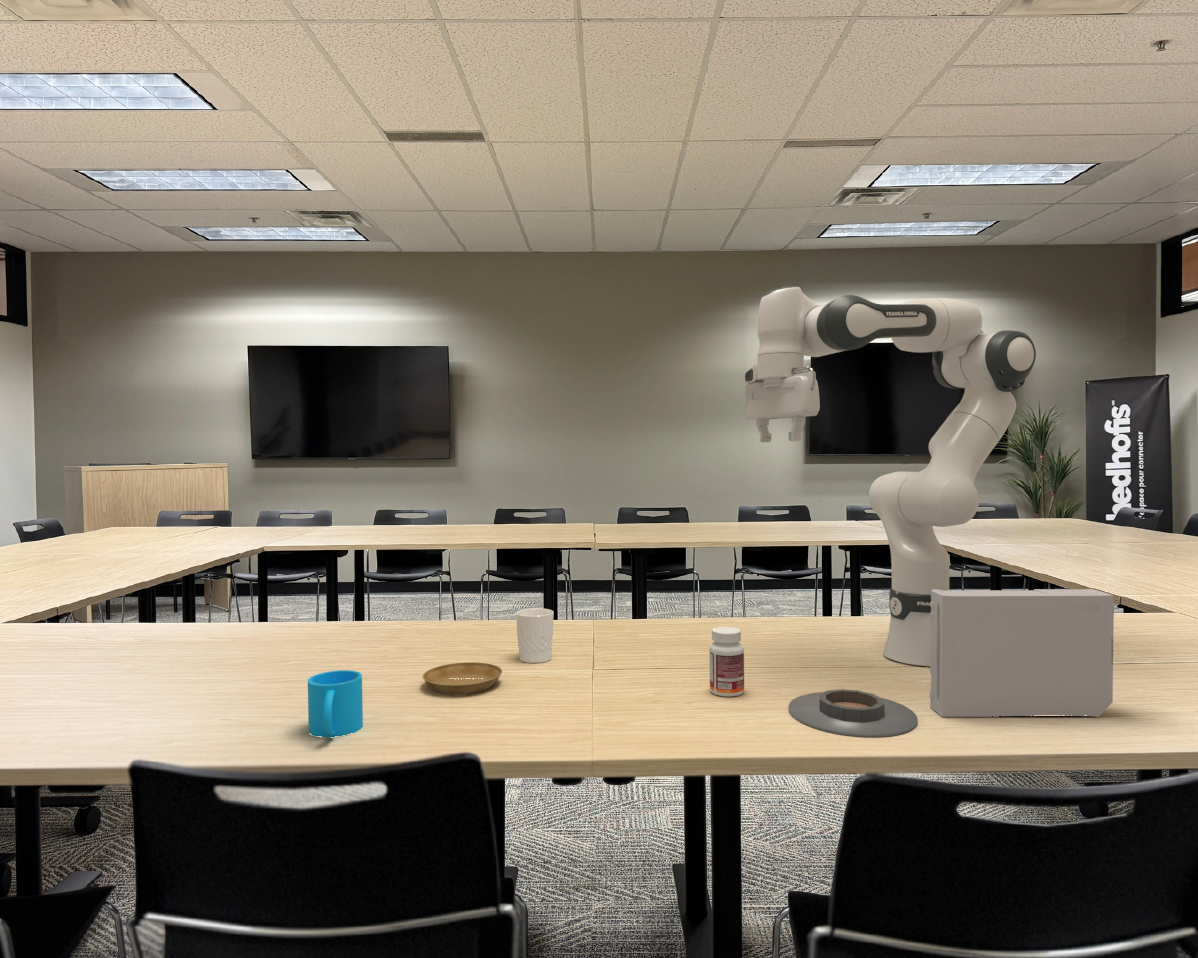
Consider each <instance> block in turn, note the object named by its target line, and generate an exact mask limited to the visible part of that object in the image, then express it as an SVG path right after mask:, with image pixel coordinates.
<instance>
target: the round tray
mask: <svg viewBox="0 0 1198 958" xmlns="http://www.w3.org/2000/svg"><path fill="white" fill-rule="evenodd" d="M788 713H789V714H790V716H791V717H792V718H793V719H794V720H795V721H797V722H799V723H801V724H802V725H805V726H806V727H809V728H812V729H815V730H818V731H822V732H825V733H829V734H835V735H841V736H846V737H856V738H858V737H859V738H886V737H888V738H889V737H896V736H899V735H903V734H907V733H909V732H911V731H913V730H914V729H916V727H917V725H918V716H917V715H916V713H915V712H914V711H913V710H912V709H910V708H909V707H907V706H906V705H903V704H901V703H899V702H896V701H894V700H891V699H887V698H884V697H880V696H878V695H876V694H874V693H871V692H866V691H862V690H857V689H856V690H855V689H843V688H841V689H840V688H839V689H829V690H825V691H821V692H819V691H818V692H813V693H806V694H803V695H799V696H796V697H795V698H793V699H792V700H790V702H789V703H788Z"/></svg>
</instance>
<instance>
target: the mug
mask: <svg viewBox="0 0 1198 958" xmlns="http://www.w3.org/2000/svg"><path fill="white" fill-rule="evenodd" d="M363 704H364V703H363V674H362V673H361V672H360V671H356V670H346V669H343V670H330V671H323V672H320V673H317V674H314V675H312V676H310V677H309V678H307V708H308V709H307V710H308V711H307V713H308V721H307V722H308V734H309V733H311V734H312V735H314V736H322V737H335V736H342V735H346V736H348V735H347V734H350V733H353V734H355V733H358V732H359V731H361V729H362V728H363V727H364V716H363V715H364V713H363V710H364V707H363ZM350 735H351V734H350ZM314 736H313V737H314ZM342 737H343V736H342Z"/></svg>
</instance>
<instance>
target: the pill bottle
mask: <svg viewBox="0 0 1198 958" xmlns="http://www.w3.org/2000/svg"><path fill="white" fill-rule="evenodd" d="M741 633H742V632H741V629H740V628H737V627H731V626H717V627H714V628H712V629H711V640H712V641H713V642H712V643H711V644H710V645H709V690H710V692H711V693H712V694H714V695H716V696H719V697H724V698H725V697H736V696H737V697H738V696H741V695H743V694H744V692H745V648H744V646H743V644H742V643H740V642H741V640H742V634H741Z"/></svg>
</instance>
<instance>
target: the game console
mask: <svg viewBox="0 0 1198 958" xmlns="http://www.w3.org/2000/svg"><path fill="white" fill-rule="evenodd" d="M930 606H931V613H930V616H931V663H930V666H929V667H930V674H931V679H930V692H929V700H930V701H929V702H930V703H929V705H930V706H929V707H930V709H932V710H933V711H934V712H935V711H936V712H937V714H938V715H939V716H940V717H942V718H947V717H949V718H951V717H953V718H965V717H967V718H972V717H973V718H974V717H975V718H983V717H984V718H990V717H991V718H1000V717H999V716H1003V717H1002V718H1005V717H1004V716H1031V715H1032V716H1034V715H1060V716H1061V715H1065V716H1067V715H1068V716H1071V715H1072V716H1084V715H1087V716H1099V717H1100V716H1101V715H1102V714H1103V713H1105V711H1107V709H1108V708H1109V707H1110V706H1111V705H1112V704H1113V700H1114V699H1113V696H1114V695H1113V693H1114V692H1113V691H1114V688H1113V687H1114V685H1113V684H1114V682H1113V681H1114V629H1115V627H1114V626H1115V625H1114V624H1115V623H1114V618H1115V617H1114V616H1115V615H1114V613H1115V609H1114V608H1115V595H1114V594H1110V593H1108V592H1105V591H1101V590H1097V589H1092V588H1086V589H1085V588H1084V589H1080V588H1079V589H1076V588H1075V589H1072V588H1069V589H1066V588H1064V589H1061V588H1058V589H1057V588H1055V589H1053V588H1052V589H1051V588H1050V589H1048V588H1046V589H1045V588H1043V589H1040V588H1038V589H1037V588H1036V589H1035V588H1034V589H1033V590H1032V589H1031V590H1027V589H1026V590H1024V589H1022V590H1020V589H1019V590H1013V589H1011V590H1007V589H1006V590H1003V589H1002V590H999V589H998V590H997V589H995V590H993V589H992V590H988V589H987V590H949V591H942V590H940V589H934V590H931V604H930ZM936 712H935V713H936ZM992 716H993V717H992Z"/></svg>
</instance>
